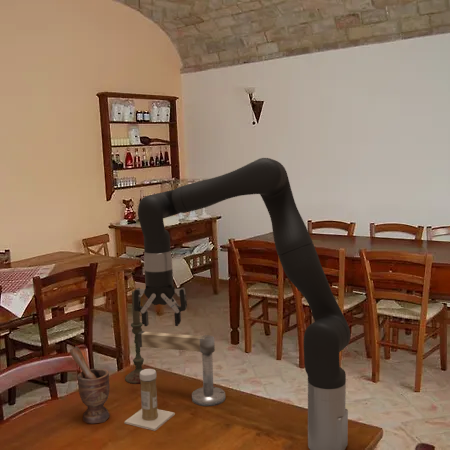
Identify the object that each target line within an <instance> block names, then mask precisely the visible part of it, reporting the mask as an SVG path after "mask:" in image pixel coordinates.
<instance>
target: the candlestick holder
mask: <svg viewBox="0 0 450 450" xmlns="http://www.w3.org/2000/svg"><path fill="white" fill-rule="evenodd" d="M135 290H136V289H134V290H132V291H131V301H132V302H131V303H132V304H131V305H132V323H131V322H130V327H131V332H132V334H133V335H134V337H133V338H134V340H133V341H134V342H133V343H134V346H135V347H134V349H135V357H134V358H133V360H132V362H133V365H134V366H135V369H134V370H132V371H131V372H129V373H128V374H127V375H126V376H125V378H124V380H125V382H127V383H128V384H134V385H141V381H140V371H142V370H144V368H143V367H142V366H143V364H144V360H145V359H144V358H143V357H142V355H141V347H138V333H139V332H141V331H143V329H142V326H144V324H142V321H141V318H140V317H141V316H140V314H141V312H139V311H135V310H134V291H135Z"/></svg>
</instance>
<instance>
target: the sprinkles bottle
mask: <svg viewBox="0 0 450 450" xmlns="http://www.w3.org/2000/svg"><path fill="white" fill-rule="evenodd" d="M140 381H141V384H140V398H141V399H140V400H141V409H142V418H143V419H145V420H154V419H156V418H157V417H158V413H157V409H158V395H157V371H156V370H155V369H154V368H143V370H142V371H140Z"/></svg>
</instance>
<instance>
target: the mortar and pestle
mask: <svg viewBox="0 0 450 450" xmlns="http://www.w3.org/2000/svg"><path fill="white" fill-rule="evenodd" d="M69 352H70V356H71V357H72V358H73V360H74V362H75V363H76V365H78V367H79V368H80V370H81V372H79V373H78V374H77V376H76V377H77V384H78V393H79V396H80V400H81V402H82V404H84V406H86V410H85V411H84V413H83V414H82V415H83V416H82V421H83V422H84V423H87V424H98V423H105V422H106V421H107V420H108V419H109V418H110V412H109V410H108V409H107V408H106V407H105V406H104V405H105V403H106V402H107V401H108V399H109V393H110V373H109V371H108V370H107V369H106V368H89V366H88V364H87V362H86V359H85V357H84V355H83V353H82V350H81V349H80V347H78V346H74V347H73V348H71V349H70V350H69Z"/></svg>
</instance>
